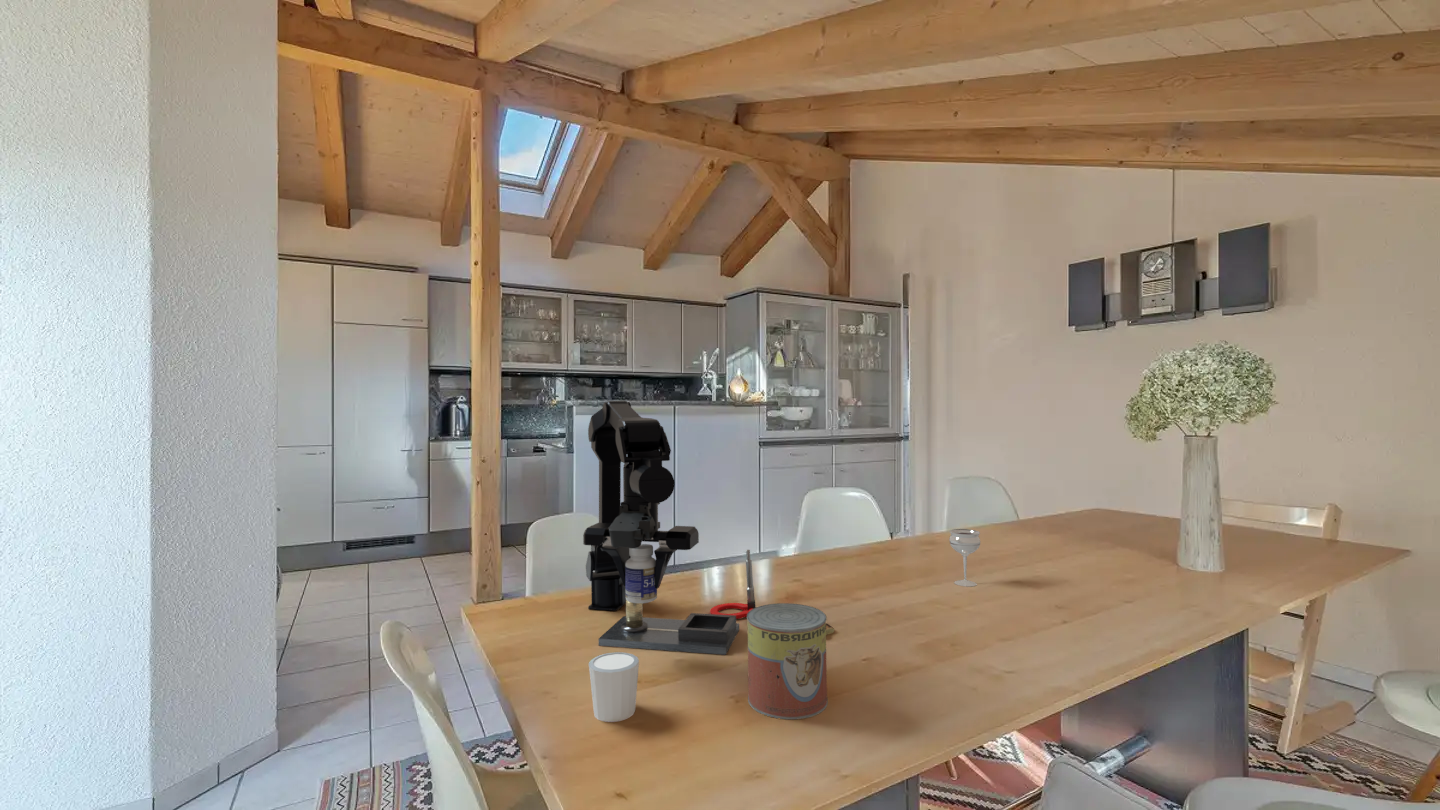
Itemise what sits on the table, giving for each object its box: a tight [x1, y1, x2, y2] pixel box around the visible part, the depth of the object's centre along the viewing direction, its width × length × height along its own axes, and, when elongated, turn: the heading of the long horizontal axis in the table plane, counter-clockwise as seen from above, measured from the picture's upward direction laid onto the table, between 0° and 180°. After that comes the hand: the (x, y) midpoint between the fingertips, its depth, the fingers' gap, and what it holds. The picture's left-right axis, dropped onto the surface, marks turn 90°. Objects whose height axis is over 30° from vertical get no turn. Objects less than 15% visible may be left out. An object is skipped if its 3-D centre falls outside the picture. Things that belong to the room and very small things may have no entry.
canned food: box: [746, 602, 829, 720], centre depth 89 cm, size 11×11×12 cm
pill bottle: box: [625, 543, 658, 604], centre depth 105 cm, size 5×5×9 cm
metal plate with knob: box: [598, 600, 740, 656], centre depth 114 cm, size 23×12×7 cm, turn 77°
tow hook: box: [709, 549, 757, 620], centre depth 126 cm, size 8×13×9 cm
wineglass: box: [949, 528, 981, 587], centre depth 145 cm, size 7×7×12 cm
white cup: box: [588, 651, 640, 723], centre depth 86 cm, size 7×7×7 cm
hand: (641, 586), depth 105 cm, fingers closed on pill bottle, 5 cm apart
